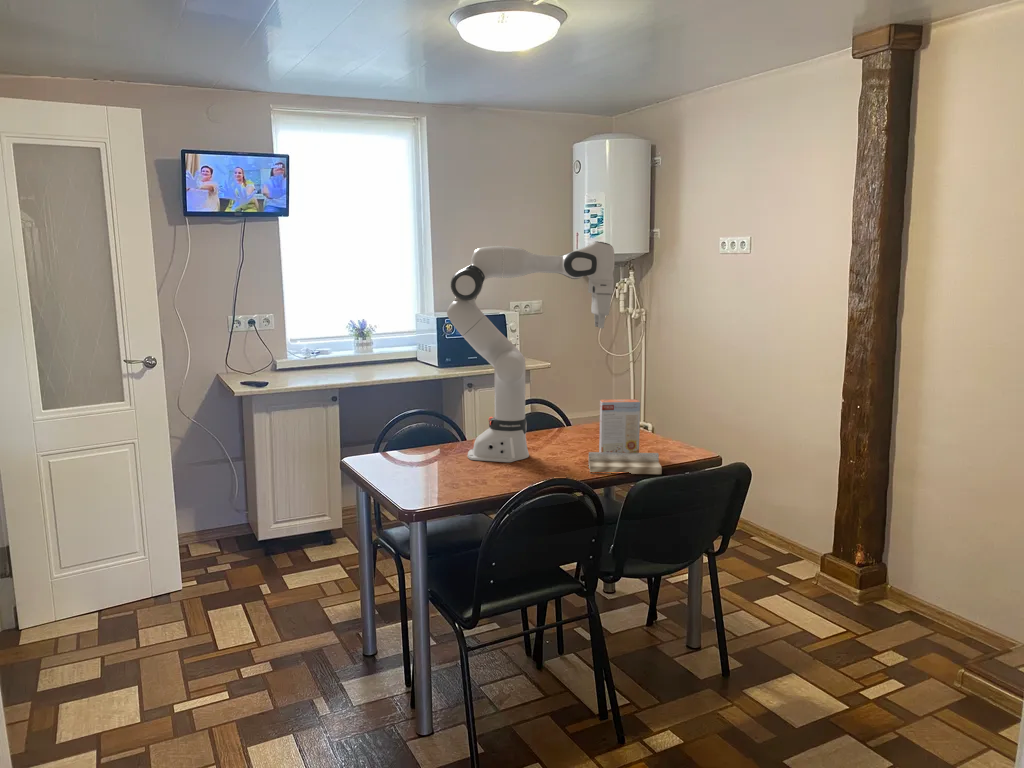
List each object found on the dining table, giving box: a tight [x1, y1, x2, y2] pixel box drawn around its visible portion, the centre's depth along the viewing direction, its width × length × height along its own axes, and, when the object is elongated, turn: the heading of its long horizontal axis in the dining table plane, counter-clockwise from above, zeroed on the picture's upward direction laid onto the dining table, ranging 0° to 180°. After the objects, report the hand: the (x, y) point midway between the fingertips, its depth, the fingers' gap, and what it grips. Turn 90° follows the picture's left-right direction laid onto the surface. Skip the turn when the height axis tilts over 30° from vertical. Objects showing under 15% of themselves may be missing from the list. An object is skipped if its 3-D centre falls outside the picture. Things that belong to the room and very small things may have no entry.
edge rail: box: [588, 451, 660, 463], centre depth 270 cm, size 24×2×5 cm, turn 88°
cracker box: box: [598, 398, 641, 453], centre depth 283 cm, size 14×6×21 cm, turn 92°
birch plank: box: [588, 460, 663, 475], centre depth 265 cm, size 24×7×2 cm, turn 88°
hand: (599, 327), depth 275 cm, fingers open, 8 cm apart
